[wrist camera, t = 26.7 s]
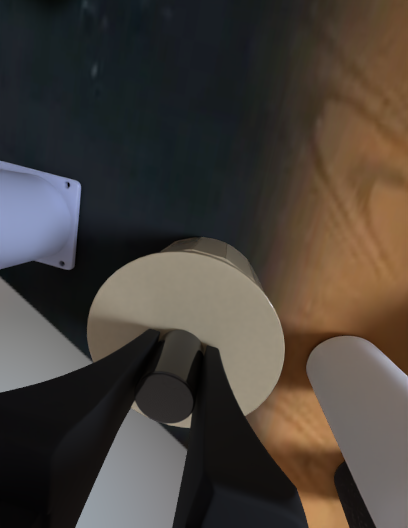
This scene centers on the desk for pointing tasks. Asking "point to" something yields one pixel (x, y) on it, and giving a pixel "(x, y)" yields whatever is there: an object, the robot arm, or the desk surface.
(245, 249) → the desk surface
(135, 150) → the desk surface
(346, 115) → the desk surface
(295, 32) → the desk surface
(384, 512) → the can
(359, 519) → the travel mug
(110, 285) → the pot lid
